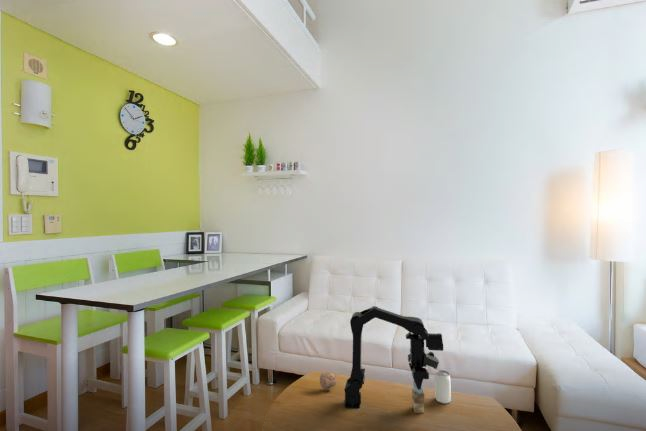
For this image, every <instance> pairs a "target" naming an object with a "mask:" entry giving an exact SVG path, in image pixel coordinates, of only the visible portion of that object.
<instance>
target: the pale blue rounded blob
mask: <svg viewBox="0 0 646 431" xmlns="http://www.w3.org/2000/svg"><path fill="white" fill-rule="evenodd" d="M412 385H413V386H412V389H413V391H414V392H415V393H418V394H421V393H423V392H424V381H423V382H422V386H421V389H420V390H418V389H417V386H416V384H415V381H414V379H413V380H412Z"/></svg>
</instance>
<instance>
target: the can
mask: <svg viewBox="0 0 646 431" xmlns="http://www.w3.org/2000/svg"><path fill="white" fill-rule="evenodd" d="M434 381H435V382H434V387H435V388H434V390H435V391H434V393H435V394H434V395H435V401H437V402H438V403H441V404H444V405H445V404H450V403H451V402H452V398H451V396H452V391H451V390H452V389H451V388H452V387H451V376H450V372H448V371H447V370H443V369H442V370H441V369H439V370H437V371H435V374H434Z"/></svg>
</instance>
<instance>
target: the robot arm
mask: <svg viewBox="0 0 646 431" xmlns="http://www.w3.org/2000/svg"><path fill="white" fill-rule="evenodd" d="M374 319H377V320H378V319H379V320H381V321H385V322H387V323H389V324H393V325H395V326H398V327H402V328H403V329H405V330H406V331H408V333H406V334H405V339H406V340H409V345H410V347H409V354H407V361H408V366H409V368H410V371H411V376H412V378H413V380H414V381H415V384H416V386H417V389H418V390H420V389H421V386H422V382H423V383H424V380H430V373H429V371H428V369H427V367H431V368H433V369H434V370H437V369H438V366H439V363H440V361H439V359H438V358H437V357H436V356H435V354H434V352H433V351H438V352H443V351H444V342H443V334H442V333H439V332H438V333H429V331H428V330H427V329H426V327H425V325H424V321H423V320H422V319H421V318H419V317H415V316H404V315H402V314H401V315H400V314H398V313H394V312H393V311H392V312H391V311H390V310H386V309H382V308H380V307H378V306H376V305H375V306H374V305H373V306H371V307H369V308H366V309H365V310H361V311H356V312H354V313H353V314H352V316H351V318H350V322H349V324H350V330H351V333H352V360H351V362H352V367H351V371H350V377H349V378H347V380H346V382H345V387H344V390H343V391H344V408H351V409H353V408H354V409H359V408H360V407H361V404H362V394H361V393H362V392H361V391H360V389H362V388H363V385H365V381H366V375H365V372H366V368H363V366H362V342H363V341H362V336H363V328H364V325H366V324H367V323H369V322H371V321H372V320H374ZM425 348H427V350H428V351H429V352H428V353H426V352H425Z"/></svg>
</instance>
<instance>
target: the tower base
mask: <svg viewBox="0 0 646 431" xmlns="http://www.w3.org/2000/svg"><path fill="white" fill-rule="evenodd" d="M412 407H413V413H415V414H416V413H417V414H419V413H420V414H425V402H424V403H415V402H414V400H413V399H412Z"/></svg>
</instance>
